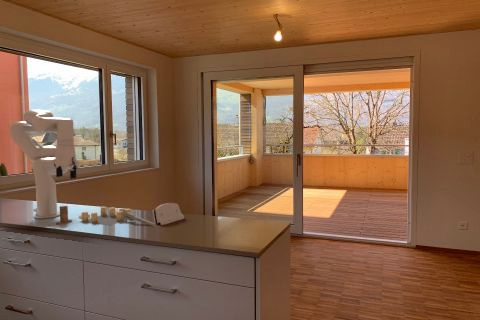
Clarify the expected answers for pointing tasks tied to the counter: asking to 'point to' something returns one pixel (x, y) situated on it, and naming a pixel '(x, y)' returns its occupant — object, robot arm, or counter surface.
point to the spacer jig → (105, 216)
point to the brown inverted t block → (63, 215)
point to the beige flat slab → (167, 213)
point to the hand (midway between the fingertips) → (66, 177)
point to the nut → (81, 215)
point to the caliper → (135, 218)
